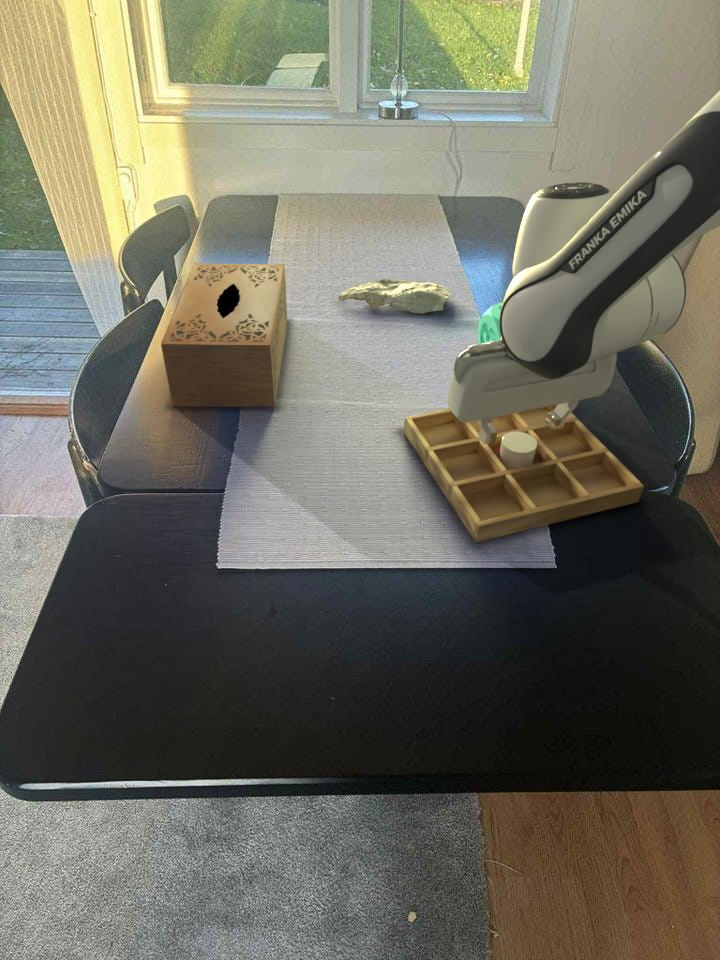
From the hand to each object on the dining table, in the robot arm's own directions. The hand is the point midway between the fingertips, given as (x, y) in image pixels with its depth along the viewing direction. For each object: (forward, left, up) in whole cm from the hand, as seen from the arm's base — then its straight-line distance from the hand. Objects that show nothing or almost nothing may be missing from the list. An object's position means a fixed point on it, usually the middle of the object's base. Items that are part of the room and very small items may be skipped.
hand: (520, 433), depth 87 cm
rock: (+47, -3, -5) cm, 47 cm away
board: (0, 0, -5) cm, 5 cm away
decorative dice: (+24, -12, -5) cm, 27 cm away
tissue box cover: (+37, +29, -5) cm, 47 cm away
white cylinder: (0, 0, -4) cm, 4 cm away
